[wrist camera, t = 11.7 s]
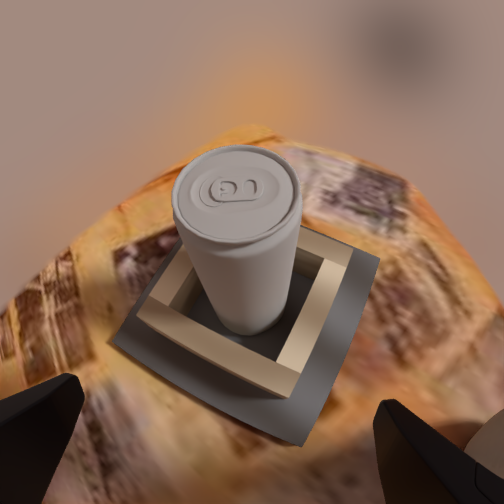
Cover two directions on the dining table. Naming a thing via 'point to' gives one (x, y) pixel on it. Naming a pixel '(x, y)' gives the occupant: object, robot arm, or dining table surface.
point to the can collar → (256, 337)
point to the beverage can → (240, 231)
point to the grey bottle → (489, 445)
